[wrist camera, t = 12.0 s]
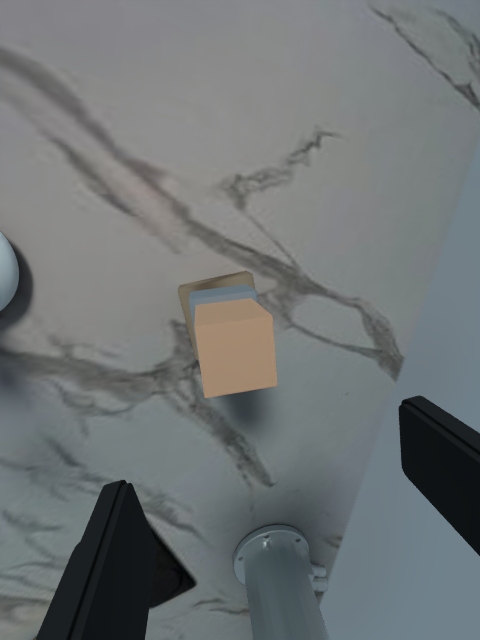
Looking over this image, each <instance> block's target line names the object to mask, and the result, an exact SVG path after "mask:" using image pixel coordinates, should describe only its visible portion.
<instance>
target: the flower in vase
mask: <svg viewBox="0 0 480 640" xmlns="http://www.w3.org/2000/svg"><path fill="white" fill-rule="evenodd" d="M18 281H19V268H18V262H17V259H16V256H15V253H14V251H13V249H12V247H11V245H10V244H9V242H8V240H7V239H6V238H5V236H4V235H3V234H2V233H1V232H0V311H1V310H2V309H3V308H5V307H6V306H7V305H8V304H9V302H10V301H11V300H12V298H13V297H14V294H15V292H16V290H17V286H18Z"/></svg>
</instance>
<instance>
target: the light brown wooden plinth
mask: <svg viewBox="0 0 480 640" xmlns="http://www.w3.org/2000/svg"><path fill="white" fill-rule="evenodd" d="M243 284H248V285H249V286H251V287H252V288H254V289H255V285H254V280H253V274H252V273H250V272H247V271H243V272H238V273H234V274H229V275H224V276H220V277H215V278H211V279H206V280H201V281H197V282H192V283H188V284H183V285H180V286H179V288H178V294H179V298H180V301H181V305H182V309H183V313H184V316H185V320H186V324H187V328H188V331H189V335H190V339H191V343H192V347H193V350H194V354H195V358H196V360H198V353H197V347H196V341H195V335H194V329H193V323H192V317H191V311H190V305H189V295H190V292H191V291H198V290H206V289H213V288H221V287H228V286H236V285H243Z"/></svg>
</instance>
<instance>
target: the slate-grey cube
mask: <svg viewBox="0 0 480 640" xmlns="http://www.w3.org/2000/svg"><path fill="white" fill-rule="evenodd" d="M249 298H252V299H253V300H254V301H256V302H257V303H258V301H257V290H255V289H254V288H252V287H251V286H249V285H248V284H243V285H236V286H228V287H221V288H213V289H206V290H198V291H191V292H190V295H189V305H190V311H191V317H192V323H193V329H194V335H195V328H194V323H195V305H201V304H209V303H217V302H225V301H233V300H241V299H249ZM195 341H196V335H195ZM196 347H197V341H196ZM197 353H198V348H197ZM198 359H199V355H198ZM199 364H200V362H199Z"/></svg>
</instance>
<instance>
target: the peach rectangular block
mask: <svg viewBox="0 0 480 640" xmlns="http://www.w3.org/2000/svg"><path fill="white" fill-rule="evenodd" d="M194 328H195V335H196V341H197V348H198V355H199V362H200V368H201V375H202V382H203V388H204V395H205V398H209V397H215V396H221V395H227V394H233V393H239V392H245V391H251V390H257V389H263V388H269V387H275V386H277V374H276V360H275V345H274V331H273V316H272V315H271V314H269V313H268V312H267V311H266V310H265V309H264V308H262V307H261V306H260V305H259V304H258V303H257V302H256V301H254V300H253V299H252V298H249V299H241V300H233V301H225V302H217V303H209V304H201V305H195V323H194Z"/></svg>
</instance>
